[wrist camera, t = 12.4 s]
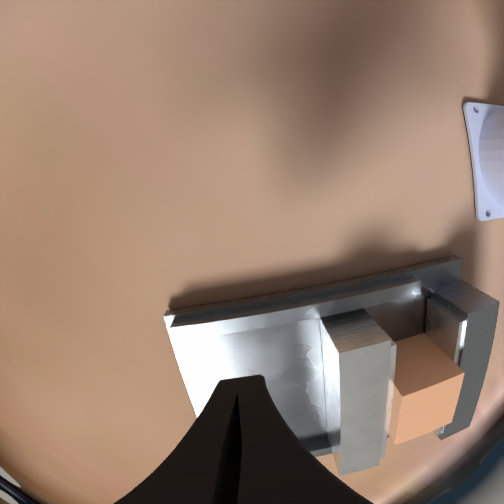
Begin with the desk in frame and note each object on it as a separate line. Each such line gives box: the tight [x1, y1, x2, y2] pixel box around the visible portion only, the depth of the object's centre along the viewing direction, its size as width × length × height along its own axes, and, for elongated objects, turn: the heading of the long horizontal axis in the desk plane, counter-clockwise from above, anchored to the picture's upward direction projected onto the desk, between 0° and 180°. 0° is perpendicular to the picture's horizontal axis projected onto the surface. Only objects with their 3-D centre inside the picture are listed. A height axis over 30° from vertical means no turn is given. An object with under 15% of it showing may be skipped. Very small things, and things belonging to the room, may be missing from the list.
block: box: [388, 333, 465, 445], centre depth 16 cm, size 4×4×5 cm
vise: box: [164, 255, 499, 457], centre depth 17 cm, size 18×13×5 cm
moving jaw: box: [319, 308, 397, 476], centre depth 16 cm, size 3×10×4 cm, turn 10°
